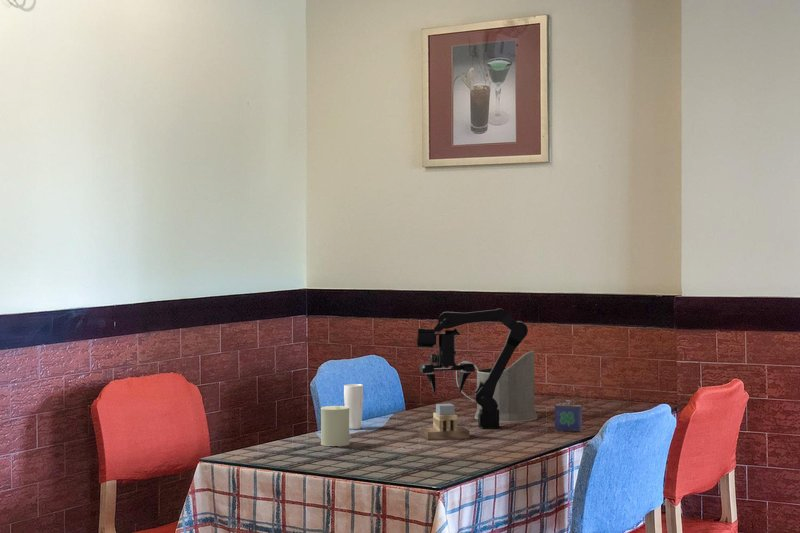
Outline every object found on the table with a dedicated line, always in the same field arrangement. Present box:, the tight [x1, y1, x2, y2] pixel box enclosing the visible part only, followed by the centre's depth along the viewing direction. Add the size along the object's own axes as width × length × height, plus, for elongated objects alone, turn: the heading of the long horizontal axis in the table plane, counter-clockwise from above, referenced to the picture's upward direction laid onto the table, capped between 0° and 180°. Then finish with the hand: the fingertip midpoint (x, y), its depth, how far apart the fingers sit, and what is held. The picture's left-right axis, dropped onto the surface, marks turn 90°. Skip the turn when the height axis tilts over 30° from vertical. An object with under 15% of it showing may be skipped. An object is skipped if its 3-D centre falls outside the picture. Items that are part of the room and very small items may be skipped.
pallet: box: [432, 412, 458, 431], centre depth 325 cm, size 6×8×5 cm
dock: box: [420, 425, 471, 441], centre depth 325 cm, size 14×9×2 cm, turn 103°
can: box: [320, 405, 351, 447], centre depth 313 cm, size 9×9×12 cm
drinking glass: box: [343, 383, 364, 430], centre depth 344 cm, size 7×7×15 cm
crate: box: [435, 403, 456, 415], centre depth 325 cm, size 5×5×3 cm
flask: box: [554, 399, 583, 433], centre depth 334 cm, size 9×3×11 cm, turn 68°
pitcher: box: [455, 350, 538, 423], centre depth 370 cm, size 23×32×25 cm
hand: (447, 392), depth 345 cm, fingers open, 9 cm apart
